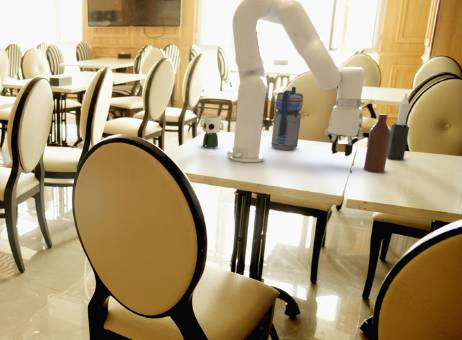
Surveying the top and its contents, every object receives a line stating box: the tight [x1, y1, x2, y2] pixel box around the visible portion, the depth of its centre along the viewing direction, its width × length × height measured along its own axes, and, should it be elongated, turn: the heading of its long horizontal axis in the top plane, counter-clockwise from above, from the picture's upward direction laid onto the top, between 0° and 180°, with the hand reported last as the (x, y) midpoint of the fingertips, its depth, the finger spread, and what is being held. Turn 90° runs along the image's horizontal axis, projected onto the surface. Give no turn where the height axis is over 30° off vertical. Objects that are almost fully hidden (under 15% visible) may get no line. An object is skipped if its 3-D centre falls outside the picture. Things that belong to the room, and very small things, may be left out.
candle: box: [386, 93, 410, 161], centre depth 196 cm, size 5×5×25 cm
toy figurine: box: [199, 114, 225, 149], centre depth 212 cm, size 11×7×13 cm, turn 45°
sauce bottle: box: [363, 113, 391, 174], centre depth 179 cm, size 6×6×20 cm
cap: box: [335, 140, 348, 153], centre depth 183 cm, size 4×4×3 cm
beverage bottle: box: [270, 86, 304, 151], centre depth 210 cm, size 10×13×25 cm
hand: (341, 153), depth 184 cm, fingers closed on cap, 3 cm apart
